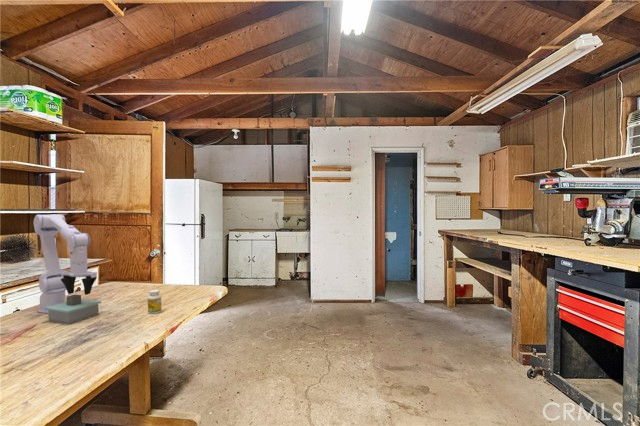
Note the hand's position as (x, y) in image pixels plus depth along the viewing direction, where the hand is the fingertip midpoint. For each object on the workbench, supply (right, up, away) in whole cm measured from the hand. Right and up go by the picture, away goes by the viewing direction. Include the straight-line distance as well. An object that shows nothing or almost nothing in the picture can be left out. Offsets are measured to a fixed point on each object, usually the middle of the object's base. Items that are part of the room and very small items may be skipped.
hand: (79, 293), depth 133 cm
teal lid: (-2, -5, 0) cm, 6 cm away
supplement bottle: (+29, -10, +7) cm, 31 cm away
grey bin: (-2, -10, 0) cm, 10 cm away
